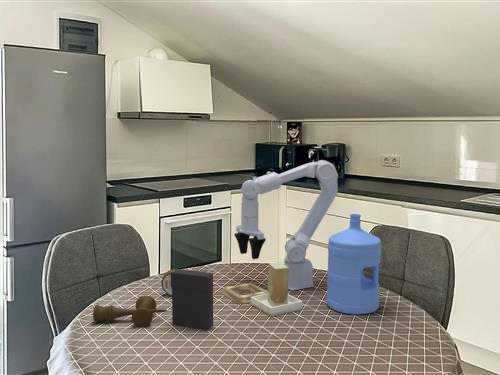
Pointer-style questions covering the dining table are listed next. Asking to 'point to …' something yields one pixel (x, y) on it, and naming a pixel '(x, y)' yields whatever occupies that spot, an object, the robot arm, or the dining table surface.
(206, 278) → the black upright block
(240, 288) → the wooden square frame
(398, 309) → the dining table surface
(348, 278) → the water jug
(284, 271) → the skincare box
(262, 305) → the tray
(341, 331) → the dining table surface
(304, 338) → the dining table surface
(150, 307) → the kendama
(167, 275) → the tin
